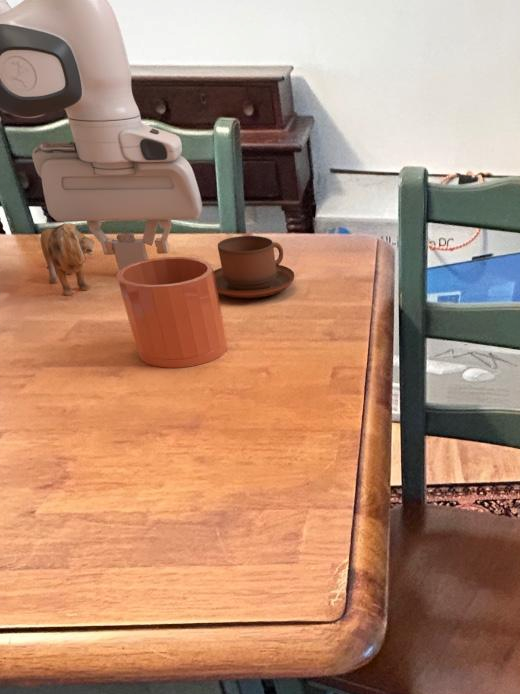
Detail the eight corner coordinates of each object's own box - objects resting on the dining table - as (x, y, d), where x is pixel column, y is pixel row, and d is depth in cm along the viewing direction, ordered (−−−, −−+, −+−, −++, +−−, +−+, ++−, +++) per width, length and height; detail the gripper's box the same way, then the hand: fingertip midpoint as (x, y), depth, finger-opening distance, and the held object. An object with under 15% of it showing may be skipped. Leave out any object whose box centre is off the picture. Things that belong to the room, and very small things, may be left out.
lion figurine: (112, 293, 102) (92, 223, 96) (75, 303, 99) (52, 230, 93) (66, 268, 109) (45, 201, 103) (30, 276, 106) (6, 208, 100)
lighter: (119, 274, 107) (103, 214, 101) (121, 271, 108) (106, 211, 103) (170, 272, 108) (157, 213, 103) (171, 269, 109) (158, 209, 104)
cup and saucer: (238, 272, 109) (230, 227, 105) (310, 282, 106) (305, 236, 102) (191, 298, 100) (181, 250, 96) (268, 310, 98) (261, 261, 93)
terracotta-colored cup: (131, 369, 83) (108, 288, 77) (146, 335, 91) (126, 258, 85) (223, 365, 84) (207, 284, 78) (230, 331, 92) (216, 255, 86)
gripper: (20, 146, 93) (56, 261, 103) (186, 146, 96) (207, 258, 105) (34, 137, 98) (67, 248, 107) (191, 137, 101) (211, 245, 110)
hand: (137, 253), depth 106 cm, fingers closed on lighter, 6 cm apart
